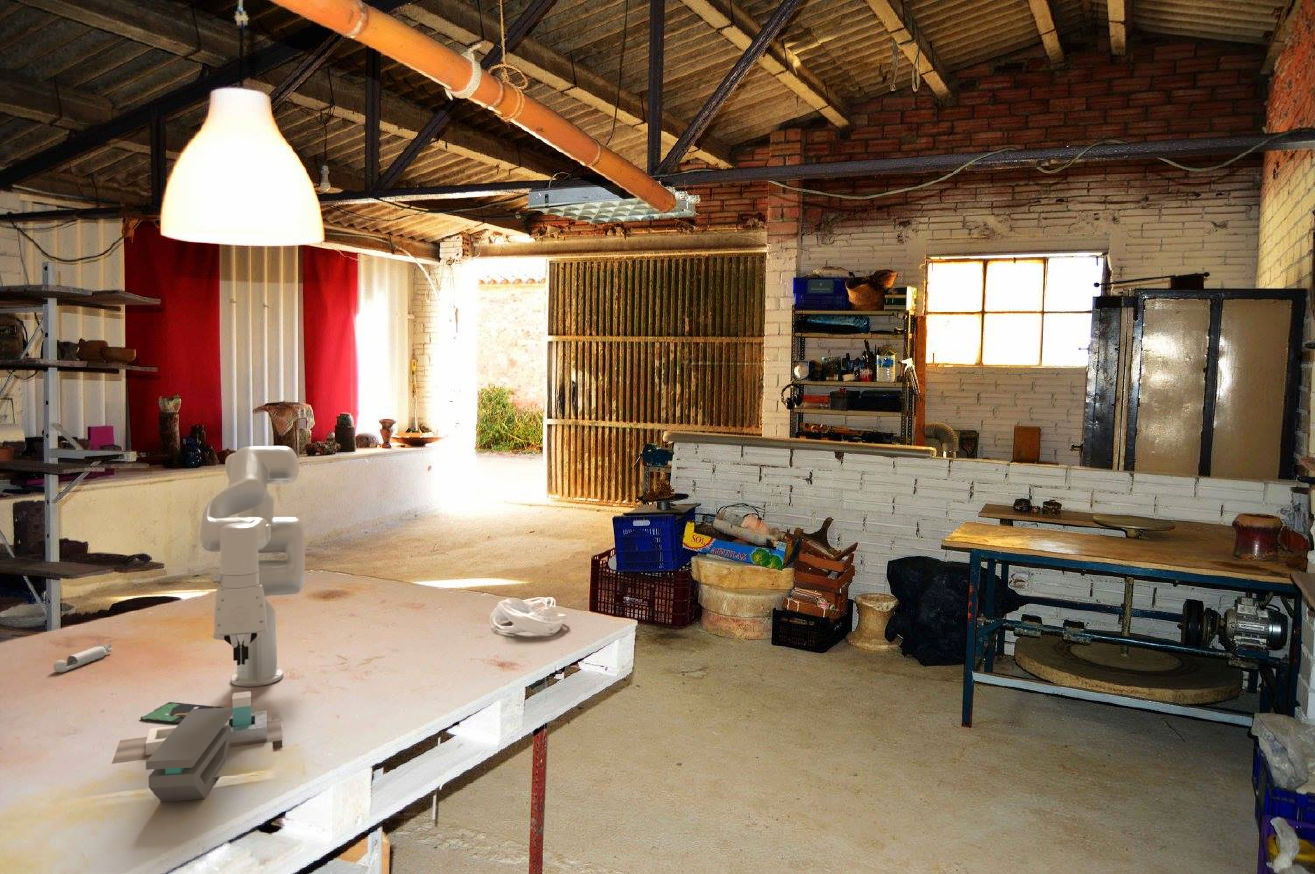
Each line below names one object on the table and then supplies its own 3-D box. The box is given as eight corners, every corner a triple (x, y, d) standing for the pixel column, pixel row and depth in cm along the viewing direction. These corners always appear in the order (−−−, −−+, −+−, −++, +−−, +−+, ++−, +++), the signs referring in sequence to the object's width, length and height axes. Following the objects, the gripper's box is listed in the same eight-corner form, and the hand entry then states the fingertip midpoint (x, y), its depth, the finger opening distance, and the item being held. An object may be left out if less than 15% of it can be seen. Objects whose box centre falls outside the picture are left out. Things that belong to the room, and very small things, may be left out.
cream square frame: (150, 739, 195) (150, 728, 195) (192, 734, 198) (192, 723, 198) (146, 754, 187) (145, 743, 187) (190, 748, 191) (190, 737, 191)
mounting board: (120, 747, 194) (119, 740, 194) (281, 726, 207) (281, 719, 207) (111, 770, 183) (111, 763, 183) (282, 746, 196) (282, 739, 196)
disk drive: (226, 718, 213) (169, 712, 215) (226, 706, 213) (169, 700, 215) (196, 735, 203) (137, 729, 205) (196, 723, 202) (137, 717, 205)
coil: (553, 643, 275) (554, 613, 274) (477, 635, 279) (478, 605, 278) (574, 622, 299) (576, 594, 299) (505, 614, 303) (506, 587, 303)
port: (217, 729, 201) (217, 716, 201) (266, 723, 205) (266, 710, 205) (216, 747, 192) (215, 733, 192) (267, 740, 196) (267, 726, 196)
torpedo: (63, 675, 237) (63, 651, 237) (48, 673, 238) (48, 649, 238) (118, 654, 255) (117, 631, 254) (104, 653, 256) (103, 630, 255)
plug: (233, 732, 199) (232, 693, 199) (251, 730, 201) (250, 691, 200) (233, 739, 196) (232, 698, 195) (251, 736, 198) (250, 696, 197)
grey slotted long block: (193, 816, 166) (192, 759, 165) (147, 819, 165) (145, 761, 164) (232, 757, 191) (232, 707, 190) (192, 759, 189) (191, 709, 188)
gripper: (200, 586, 189) (201, 672, 191) (277, 581, 195) (278, 664, 197) (202, 579, 196) (203, 661, 197) (277, 574, 202) (277, 654, 204)
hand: (241, 662), depth 197 cm, fingers closed
